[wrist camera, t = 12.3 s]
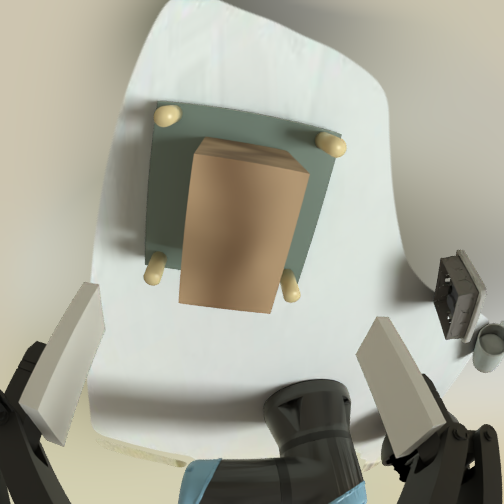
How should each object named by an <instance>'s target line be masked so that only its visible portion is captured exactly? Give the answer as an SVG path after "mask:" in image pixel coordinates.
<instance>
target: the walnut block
mask: <svg viewBox="0 0 504 504" xmlns="http://www.w3.org/2000/svg"><path fill="white" fill-rule="evenodd" d="M309 176H310V173H309V172H308V171H307V170H306V169H305V168H304V167H303V166H302V165H301V164H300V163H299V162H298V161H297V160H296V159H295V158H294V157H293V156H292V155H291V154H290V153H289V152H288V151H286V150H281V149H276V148H271V147H266V146H260V145H255V144H249V143H243V142H238V141H231V140H225V139H218V138H211V137H205V138H204V139H203V141H202V142H201V144H200V145H199V147H198V148H197V150H196V151H195V153H194V157H193V164H192V171H191V179H190V186H189V194H188V203H187V211H186V220H185V230H184V240H183V251H182V262H181V275H180V289H179V303H182V304H189V305H197V306H205V307H213V308H221V309H229V310H238V311H248V312H257V313H267V314H270V313H271V309H272V306H273V303H274V300H275V296H276V293H277V290H278V286H279V283H280V279H281V276H282V273H283V269H284V266H285V262H286V259H287V256H288V252H289V249H290V245H291V242H292V238H293V234H294V231H295V227H296V224H297V220H298V216H299V213H300V209H301V206H302V202H303V198H304V194H305V191H306V187H307V183H308V179H309Z"/></svg>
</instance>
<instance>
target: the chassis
mask: <svg viewBox="0 0 504 504" xmlns="http://www.w3.org/2000/svg"><path fill="white" fill-rule="evenodd" d="M154 121H155V124H154V132H153V140H152V149H151V158H150V169H149V181H148V195H147V212H146V237H145V265H148V266H147V269H146V271H145V273H144V280H145V282H146V283H147V284H149V285H153V286H154V285H157V284H159V283H160V280H161V277H162V274H163V271H164V268H171V269H178V270H181V262H182V251H183V240H184V230H185V220H186V211H187V203H188V194H189V186H190V179H191V171H192V164H193V157H194V153H195V151H196V150H197V148H198V147H199V145H200V144H201V142H202V141H203V139H204V138H205V137H211V138H218V139H225V140H231V141H238V142H243V143H249V144H255V145H260V146H266V147H271V148H276V149H281V150H286V151H288V152H289V153H290V154H291V155H292V156H293V157H294V158H295V159H296V160H297V161H298V162H299V163H300V164H301V165H302V166H303V167H304V168H305V169H306V170H307V171H308V172H309V173H310V176H309V179H308V183H307V187H306V191H305V194H304V198H303V202H302V206H301V209H300V213H299V216H298V220H297V224H296V227H295V231H294V234H293V238H292V242H291V245H290V249H289V252H288V256H287V259H286V262H285V266H284V269H283V273H282V276H281V279H280V284H281V288H282V292H283V296H284V300H285V301H287V302H289V303H292V302H296V301H297V300H298V299H299V298H300V291H299V288H298V285H297V284H298V281H299V278H300V275H301V272H302V269H303V266H304V263H305V260H306V257H307V253H308V250H309V247H310V244H311V241H312V238H313V234H314V231H315V228H316V225H317V221H318V218H319V215H320V211H321V208H322V204H323V201H324V198H325V194H326V191H327V187H328V184H329V180H330V177H331V173H332V169H333V166H334V162H335V158H338V157H341V156H343V155H344V154H345V152H346V143H345V141H344V140H343V139H341V136H342V134H339V133H337V132H333V131H330V130H326V129H322V128H319V127H315V126H311V125H307V124H303V123H299V122H294V121H290V120H286V119H281V118H276V117H272V116H267V115H261V114H256V113H251V112H245V111H239V110H233V109H227V108H220V107H213V106H206V105H198V104H189V103H179V102H168V101H158V103H157V110H156V111H155V113H154Z"/></svg>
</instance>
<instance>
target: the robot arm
mask: <svg viewBox="0 0 504 504" xmlns="http://www.w3.org/2000/svg"><path fill="white" fill-rule="evenodd" d="M104 332H105V324H104V317H103V311H102V303H101V296H100V287H99V284H93V283H87V282H84V283H83V285H82V286H81V288H80V289H79V291H78V292H77V294H76V295H75V297H74V299H73V300H72V302H71V304H70V305H69V307H68V308H67V310H66V312H65V314H64V315H63V317H62V318H61V320H60V322H59V324H58V325H57V327H56V329H55V331H54V333H53V334H52V336H51V338H50V340H49V341H48V343H47V344H44V343H41V342H38V341H36V342H35V343H34V344H33V345H32V346H30V347H29V348H28V350H27V351H26V353H25V355H24V356H23V359H22V361H21V362H20V364H19V366H18V369H16V371H15V373H14V375H13V377H12V379H11V381H10V383H9V385H8V387H7V389H6V391H5V393H3V392H2V391H1V390H0V504H10V499H9V495H8V490H9V492H10V495H11V497H12V499H13V502H14V504H71V503H70V501H69V499H68V497H67V496H66V494H65V492H64V490H63V489H62V486H61V485H60V483H59V481H58V479H57V477H56V475H55V473H54V471H53V469H52V467H51V465H50V462H49V460H48V458H47V456H46V454H45V451H44V449H43V447H42V444H41V443H40V438H41V435H43V436H44V438H45V439H46V440H47V441H50V442H52V443H55V444H58V445H61V446H64V445H65V442H66V438H67V435H68V431H69V428H70V425H71V422H72V418H73V415H74V412H75V409H76V406H77V403H78V400H79V397H80V394H81V392H82V389H83V386H84V383H85V380H86V378H87V375H88V372H89V370H90V367H91V364H92V362H93V359H94V357H95V354H96V352H97V349H98V347H99V344H100V342H101V339H102V337H103V335H104ZM356 357H357V359H358V361H359V364H360V366H361V369H362V371H363V373H364V376H365V378H366V381H367V383H368V386H369V388H370V391H371V393H372V396H373V398H374V401H375V403H376V406H377V408H378V411H379V414H380V416H381V419H382V421H383V424H384V427H385V429H386V432H387V435H388V438H389V440H390V443H391V446H392V449H393V451H394V454H395V457H396V458H399V457H402V456H406V455H409V454H410V453H412V452H413V451H414V450H415V449H416V448H417V450H418V453H417V454H416V455H415V456H413V457H412V458H411V459H409V460H408V461H407V462H406V464H405V465H408V464H410V463H411V462H412V461H413V463H412V464H411V465H410V466H409V467H411V469H410V472H409V475H408V477H407V480H406V483H405V485H404V488H403V491H402V493H401V495H400V498H399V500H398V502H397V504H502V476H501V463H500V454H499V445H498V438H497V433H496V431H495V430H494V428H493V427H492V426H490V425H488V424H484V425H483V426H481V427H480V428H479V429H478V430H477V431H474V430H467V429H466V428H465V426H464V425H462V424H460V423H457V422H456V423H454V422H453V421H452V419H451V417H450V415H449V413H448V411H447V409H446V407H445V405H444V403H443V401H442V399H441V398H440V395H439V394H438V392H437V391H436V388H435V386H434V384H433V382H432V381H431V380H430V379H429V378H428V377H427V376H426V375H425V374H421V372H420V371H419V369H418V367H417V365H416V363H415V362H414V360H413V358H412V356H411V354H410V353H409V351H408V349H407V347H406V346H405V344H404V342H403V341H402V339H401V337H400V335H399V334H398V332H397V330H396V329H395V327H394V325H393V324H392V322H391V321H390V319H389V317H376V319H375V321H374V322H373V324H372V326H371V328H370V330H369V332H368V333H367V335H366V337H365V339H364V341H363V342H362V344H361V346H360V348H359V349H358V351H357V353H356ZM350 412H351V399H350V396H349V393H348V390H347V388H346V387H345V386H344V385H343V384H342V383H339V382H337V381H332V380H313V381H306V382H302V383H298V384H294V385H292V386H289V387H286V388H284V389H282V390H280V391H278V392H277V393H275V394H274V395H272V396H271V397H270V398H269V399H268V400H267V401H266V403H265V405H264V418H265V422H266V424H267V426H268V428H269V430H270V432H271V434H272V435H273V437H274V439H275V441H276V443H277V445H278V447H279V451H280V458H265V459H222V458H219V459H213V460H195V461H193V462H191V463H190V464H189V465H188V466H187V468H186V470H185V473H184V476H183V480H182V484H181V489H180V494H179V501H178V504H366V503H367V496H366V490H365V481H364V480H363V477H362V473H361V469H360V466H359V463H358V459H357V456H356V452H355V449H354V445H353V442H352V439H351V435H350V431H349V426H350ZM474 460H475V466H474V467H472V468H471V469H470V467H469V466H470V465H469V464H470V463H472V462H473V461H474ZM7 488H8V490H7Z"/></svg>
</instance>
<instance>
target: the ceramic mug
mask: <svg viewBox="0 0 504 504" xmlns="http://www.w3.org/2000/svg"><path fill="white" fill-rule="evenodd" d="M503 357H504V321H502V322H501V323H500V324H495V323H493V324H488V325H486V326H484V327H483V328H482V329H481V330H480V332H479V334H478V338H477V342H476V345H475V349H474V352H473V364H474V366H475V368H476V369H477V370H478V371H480V372H483V373H488V372H491V371H493V370H495V369H496V368H497V367H498V366H499V364H500V363H501V361H502V359H503Z"/></svg>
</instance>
